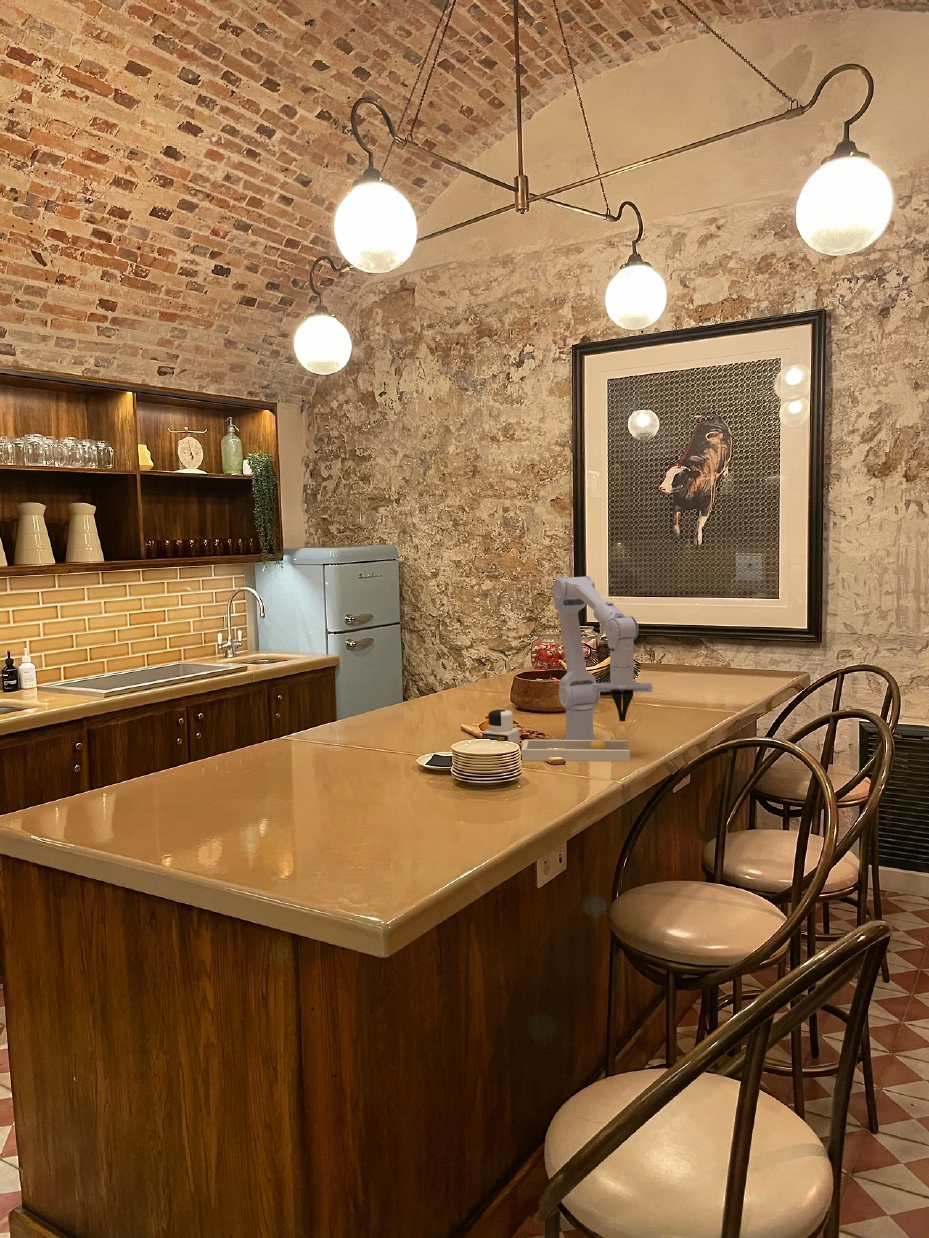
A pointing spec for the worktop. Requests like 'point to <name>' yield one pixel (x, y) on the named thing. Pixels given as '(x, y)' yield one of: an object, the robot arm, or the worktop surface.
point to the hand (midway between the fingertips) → (622, 720)
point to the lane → (575, 750)
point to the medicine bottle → (501, 727)
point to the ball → (598, 745)
